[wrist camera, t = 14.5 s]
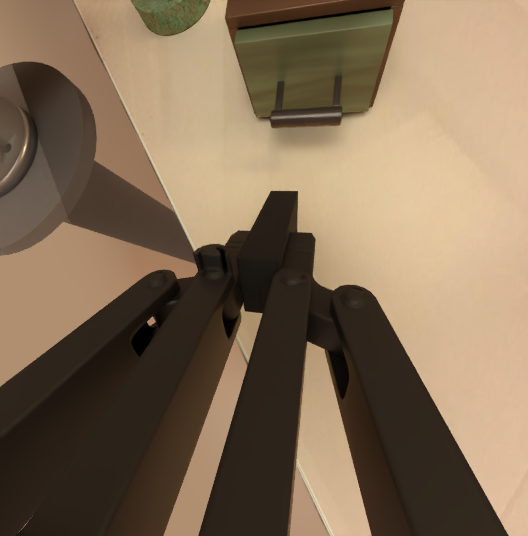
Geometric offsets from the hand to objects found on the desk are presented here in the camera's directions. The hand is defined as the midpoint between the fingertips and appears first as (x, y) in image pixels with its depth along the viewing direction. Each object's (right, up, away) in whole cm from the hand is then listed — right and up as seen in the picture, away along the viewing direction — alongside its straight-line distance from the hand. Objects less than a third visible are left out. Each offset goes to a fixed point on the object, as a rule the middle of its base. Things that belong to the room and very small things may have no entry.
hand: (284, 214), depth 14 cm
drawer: (+4, +18, +12) cm, 21 cm away
